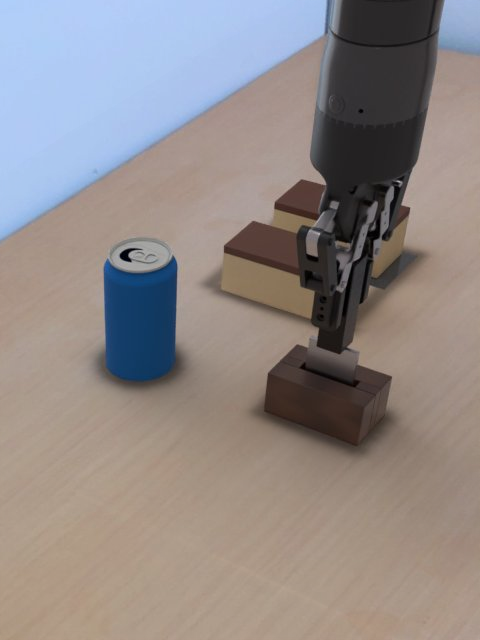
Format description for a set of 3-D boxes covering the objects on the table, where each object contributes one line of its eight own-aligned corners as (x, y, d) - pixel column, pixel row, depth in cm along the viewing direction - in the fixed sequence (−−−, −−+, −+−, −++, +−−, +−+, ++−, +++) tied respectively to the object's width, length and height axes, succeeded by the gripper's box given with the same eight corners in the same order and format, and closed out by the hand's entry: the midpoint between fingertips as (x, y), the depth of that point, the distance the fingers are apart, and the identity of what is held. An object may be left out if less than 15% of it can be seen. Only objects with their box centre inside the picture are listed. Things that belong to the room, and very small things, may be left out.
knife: (352, 414, 96) (381, 257, 84) (340, 427, 95) (368, 270, 83) (307, 397, 98) (329, 242, 86) (294, 410, 97) (315, 255, 85)
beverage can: (125, 342, 107) (123, 228, 98) (185, 358, 105) (190, 242, 96) (94, 379, 104) (90, 264, 95) (156, 396, 102) (158, 279, 92)
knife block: (383, 423, 96) (393, 376, 92) (355, 455, 94) (364, 407, 90) (291, 390, 100) (296, 343, 96) (262, 419, 98) (267, 372, 94)
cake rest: (401, 253, 112) (411, 207, 108) (376, 278, 109) (385, 232, 105) (296, 223, 117) (301, 178, 113) (269, 247, 115) (274, 201, 111)
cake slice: (356, 299, 107) (364, 252, 103) (329, 326, 105) (336, 279, 101) (249, 265, 113) (252, 220, 109) (220, 291, 110) (223, 245, 107)
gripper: (374, 150, 71) (338, 373, 84) (470, 66, 77) (423, 284, 90) (271, 126, 74) (251, 343, 87) (371, 47, 81) (339, 259, 94)
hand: (339, 312), depth 89 cm, fingers open, 4 cm apart
